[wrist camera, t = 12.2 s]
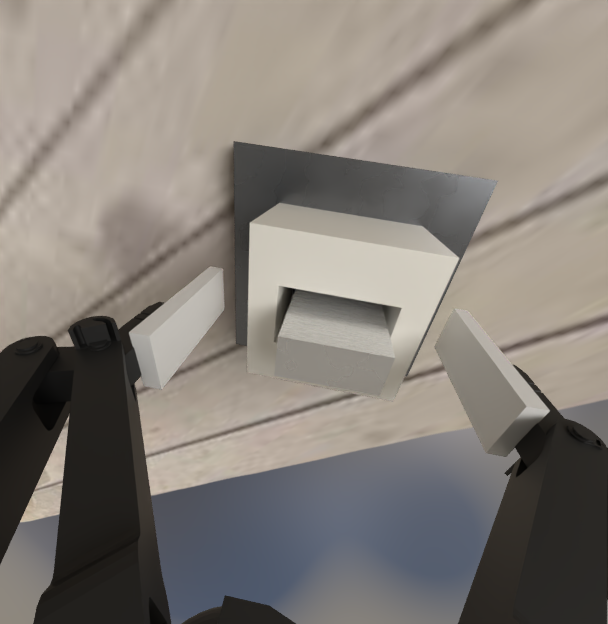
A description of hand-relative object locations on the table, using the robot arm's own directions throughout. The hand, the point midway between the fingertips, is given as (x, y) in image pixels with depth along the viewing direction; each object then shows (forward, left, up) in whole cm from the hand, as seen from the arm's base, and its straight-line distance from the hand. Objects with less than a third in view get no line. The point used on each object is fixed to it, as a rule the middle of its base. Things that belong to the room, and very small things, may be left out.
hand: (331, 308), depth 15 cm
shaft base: (0, 0, -6) cm, 6 cm away
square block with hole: (0, 0, -4) cm, 4 cm away
